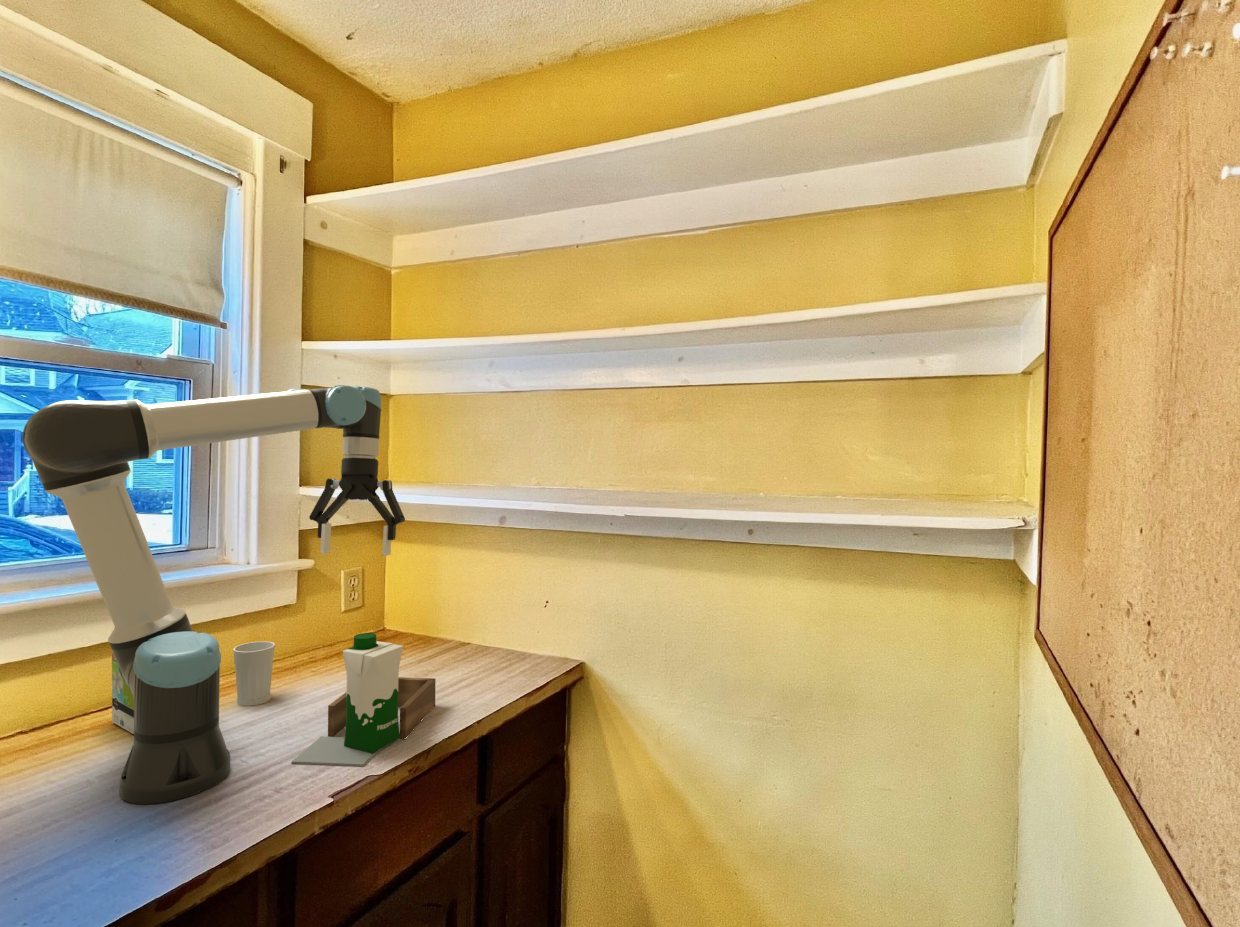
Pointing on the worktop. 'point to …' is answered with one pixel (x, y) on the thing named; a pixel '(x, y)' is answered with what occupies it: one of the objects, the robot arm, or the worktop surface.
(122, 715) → the tea box
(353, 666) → the soya milk
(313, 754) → the mat
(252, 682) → the cup
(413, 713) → the wooden tray
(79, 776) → the worktop surface
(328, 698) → the worktop surface
